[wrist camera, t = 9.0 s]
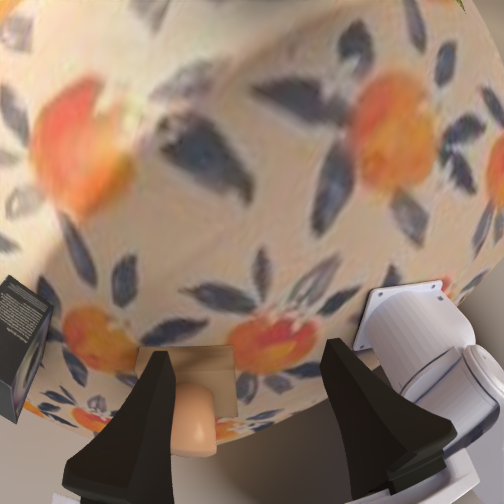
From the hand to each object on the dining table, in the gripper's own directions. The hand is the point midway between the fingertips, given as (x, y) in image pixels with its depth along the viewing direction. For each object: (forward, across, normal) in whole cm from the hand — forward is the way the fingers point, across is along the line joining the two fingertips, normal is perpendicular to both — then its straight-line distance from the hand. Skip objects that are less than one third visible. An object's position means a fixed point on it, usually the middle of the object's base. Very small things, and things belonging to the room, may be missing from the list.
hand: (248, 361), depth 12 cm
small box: (+10, +23, +7) cm, 26 cm away
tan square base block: (+10, +5, +14) cm, 18 cm away
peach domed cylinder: (+7, +5, +14) cm, 16 cm away
